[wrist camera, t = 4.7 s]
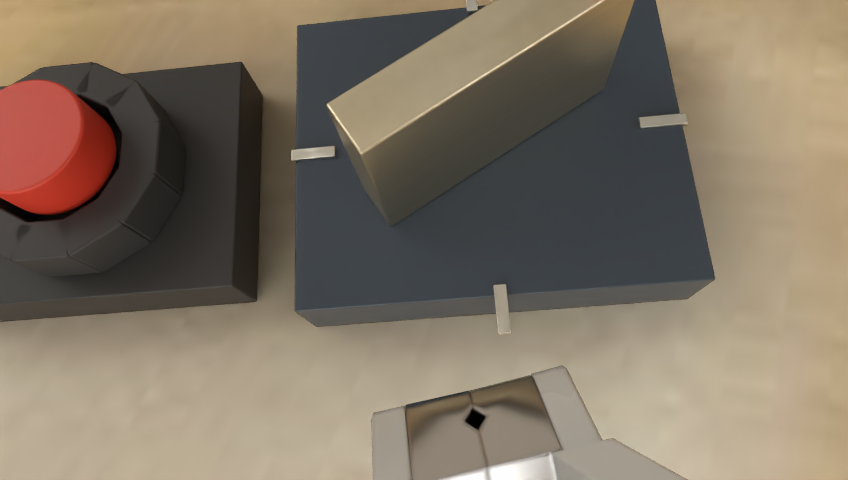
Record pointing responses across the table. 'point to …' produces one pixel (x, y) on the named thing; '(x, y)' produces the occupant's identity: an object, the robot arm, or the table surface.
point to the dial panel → (499, 195)
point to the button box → (148, 200)
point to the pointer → (474, 95)
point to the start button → (51, 148)
